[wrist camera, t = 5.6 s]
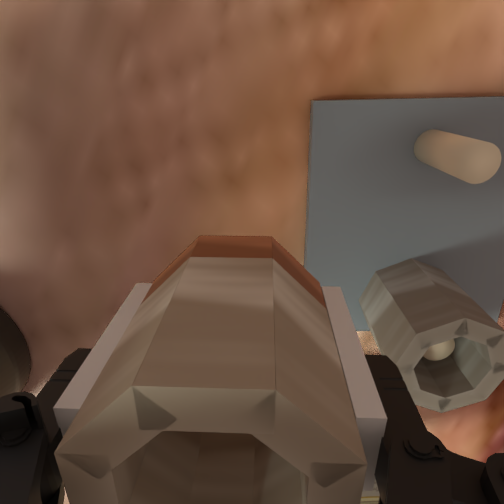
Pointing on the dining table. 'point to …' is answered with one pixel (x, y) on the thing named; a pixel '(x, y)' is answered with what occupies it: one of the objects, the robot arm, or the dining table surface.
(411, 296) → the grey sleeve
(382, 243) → the pin board
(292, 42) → the dining table surface
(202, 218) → the dining table surface
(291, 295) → the cream sleeve
